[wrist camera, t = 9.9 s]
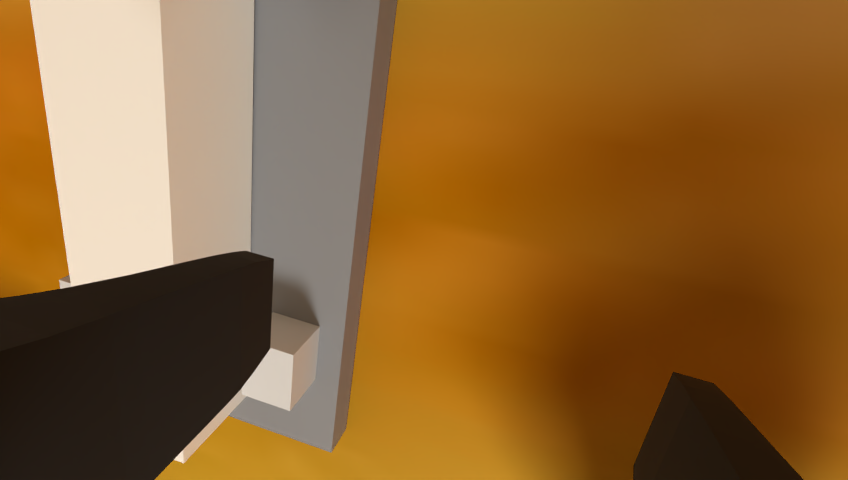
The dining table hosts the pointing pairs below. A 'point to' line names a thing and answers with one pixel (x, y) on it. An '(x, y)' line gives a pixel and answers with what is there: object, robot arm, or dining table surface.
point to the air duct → (149, 134)
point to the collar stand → (313, 201)
